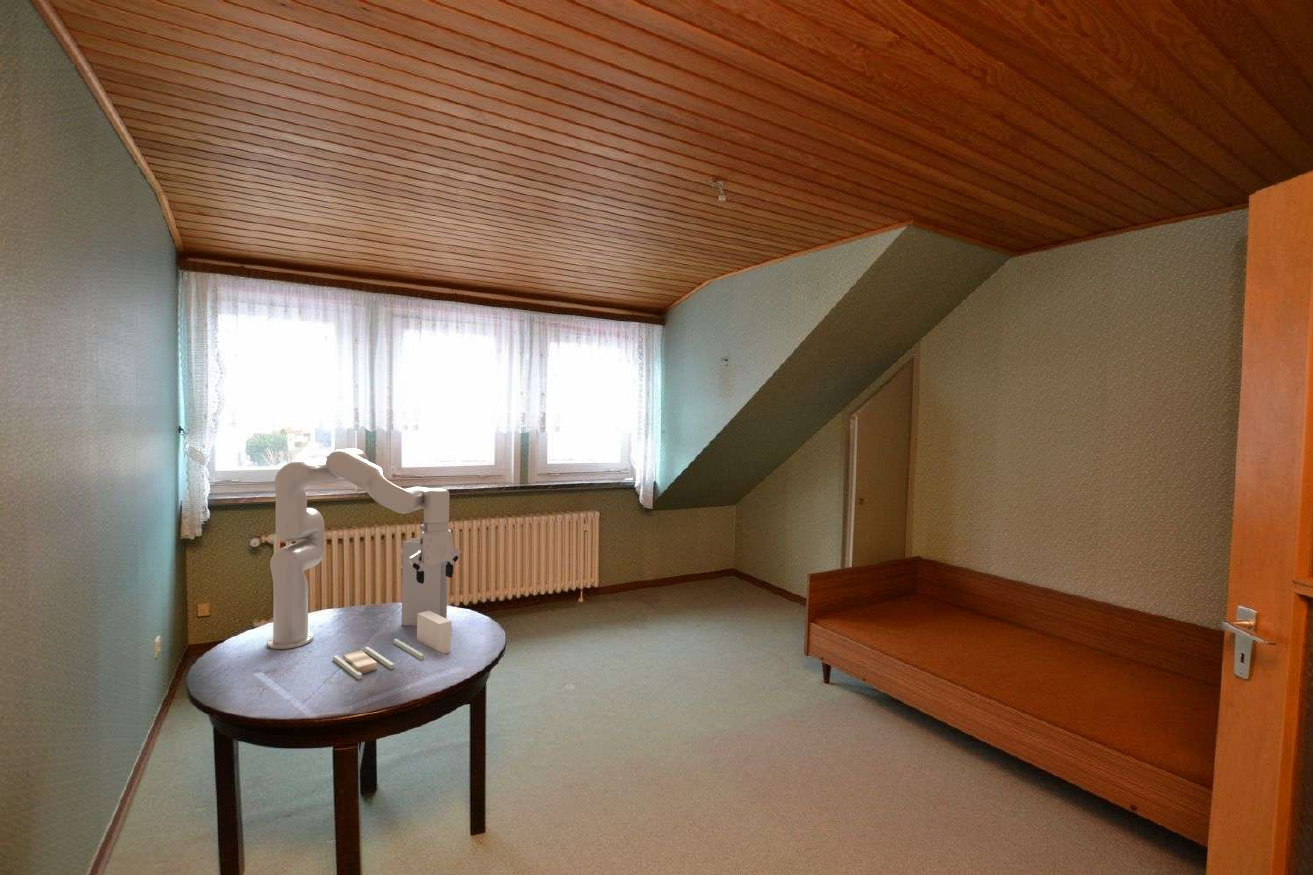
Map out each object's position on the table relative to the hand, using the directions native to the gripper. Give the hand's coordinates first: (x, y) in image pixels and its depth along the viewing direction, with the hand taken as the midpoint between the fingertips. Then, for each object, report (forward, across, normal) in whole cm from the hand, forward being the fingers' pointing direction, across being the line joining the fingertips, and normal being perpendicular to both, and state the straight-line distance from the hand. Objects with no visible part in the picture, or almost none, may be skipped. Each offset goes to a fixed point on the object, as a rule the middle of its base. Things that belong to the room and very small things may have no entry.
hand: (434, 579), depth 183 cm
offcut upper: (+21, -23, 0) cm, 31 cm away
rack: (+22, -17, 0) cm, 28 cm away
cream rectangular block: (+22, 0, 0) cm, 22 cm away
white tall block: (+22, +8, +22) cm, 32 cm away
